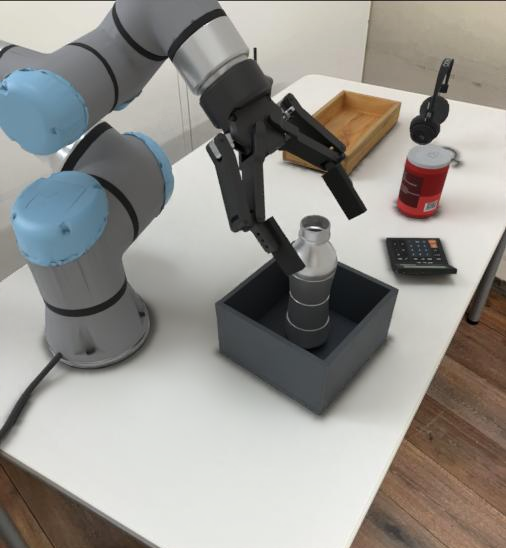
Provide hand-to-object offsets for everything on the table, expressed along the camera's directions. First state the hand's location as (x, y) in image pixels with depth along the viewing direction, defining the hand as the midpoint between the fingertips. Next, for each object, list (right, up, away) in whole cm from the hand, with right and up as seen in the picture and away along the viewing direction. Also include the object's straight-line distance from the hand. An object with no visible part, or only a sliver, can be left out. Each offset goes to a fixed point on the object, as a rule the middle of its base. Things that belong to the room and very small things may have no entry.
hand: (329, 242), depth 60 cm
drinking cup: (-8, +34, +59) cm, 69 cm away
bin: (-1, -12, +15) cm, 20 cm away
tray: (+12, +34, +58) cm, 68 cm away
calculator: (+19, +2, +28) cm, 34 cm away
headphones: (+30, +28, +52) cm, 66 cm away
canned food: (+23, +14, +39) cm, 48 cm away
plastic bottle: (-1, -11, +15) cm, 19 cm away
